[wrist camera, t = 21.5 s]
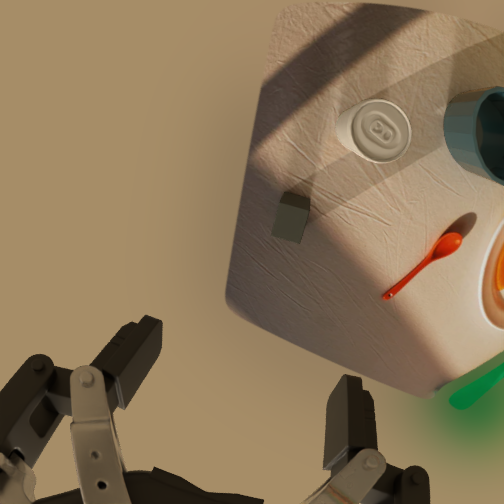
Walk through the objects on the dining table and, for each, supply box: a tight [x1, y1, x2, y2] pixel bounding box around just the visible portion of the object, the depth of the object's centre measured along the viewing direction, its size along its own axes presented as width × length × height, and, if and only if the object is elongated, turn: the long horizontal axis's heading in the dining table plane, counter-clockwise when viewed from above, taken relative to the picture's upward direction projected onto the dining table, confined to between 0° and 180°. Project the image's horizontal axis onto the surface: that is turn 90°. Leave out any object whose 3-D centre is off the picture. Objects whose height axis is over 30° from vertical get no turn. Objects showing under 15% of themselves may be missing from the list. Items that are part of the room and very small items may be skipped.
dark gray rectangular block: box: [271, 192, 310, 244], centre depth 31 cm, size 3×4×5 cm
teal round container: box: [444, 86, 504, 186], centre depth 21 cm, size 10×10×7 cm
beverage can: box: [336, 98, 412, 163], centre depth 23 cm, size 5×5×12 cm
